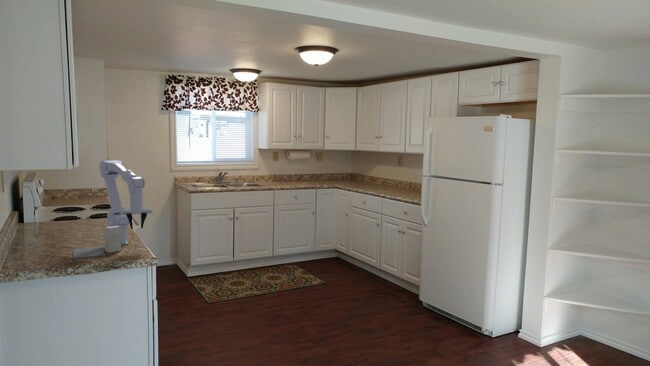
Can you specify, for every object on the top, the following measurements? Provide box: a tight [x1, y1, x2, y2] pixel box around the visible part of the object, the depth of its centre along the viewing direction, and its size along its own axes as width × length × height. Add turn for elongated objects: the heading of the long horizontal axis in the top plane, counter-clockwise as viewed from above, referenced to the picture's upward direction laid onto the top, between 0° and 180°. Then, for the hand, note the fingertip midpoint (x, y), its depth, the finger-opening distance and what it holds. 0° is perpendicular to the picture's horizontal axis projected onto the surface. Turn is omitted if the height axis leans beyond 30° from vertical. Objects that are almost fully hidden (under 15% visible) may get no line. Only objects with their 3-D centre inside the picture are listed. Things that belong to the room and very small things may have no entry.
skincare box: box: [104, 226, 122, 253], centre depth 225 cm, size 6×4×12 cm
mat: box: [72, 246, 106, 260], centre depth 221 cm, size 18×13×1 cm
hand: (136, 228), depth 230 cm, fingers open, 4 cm apart
